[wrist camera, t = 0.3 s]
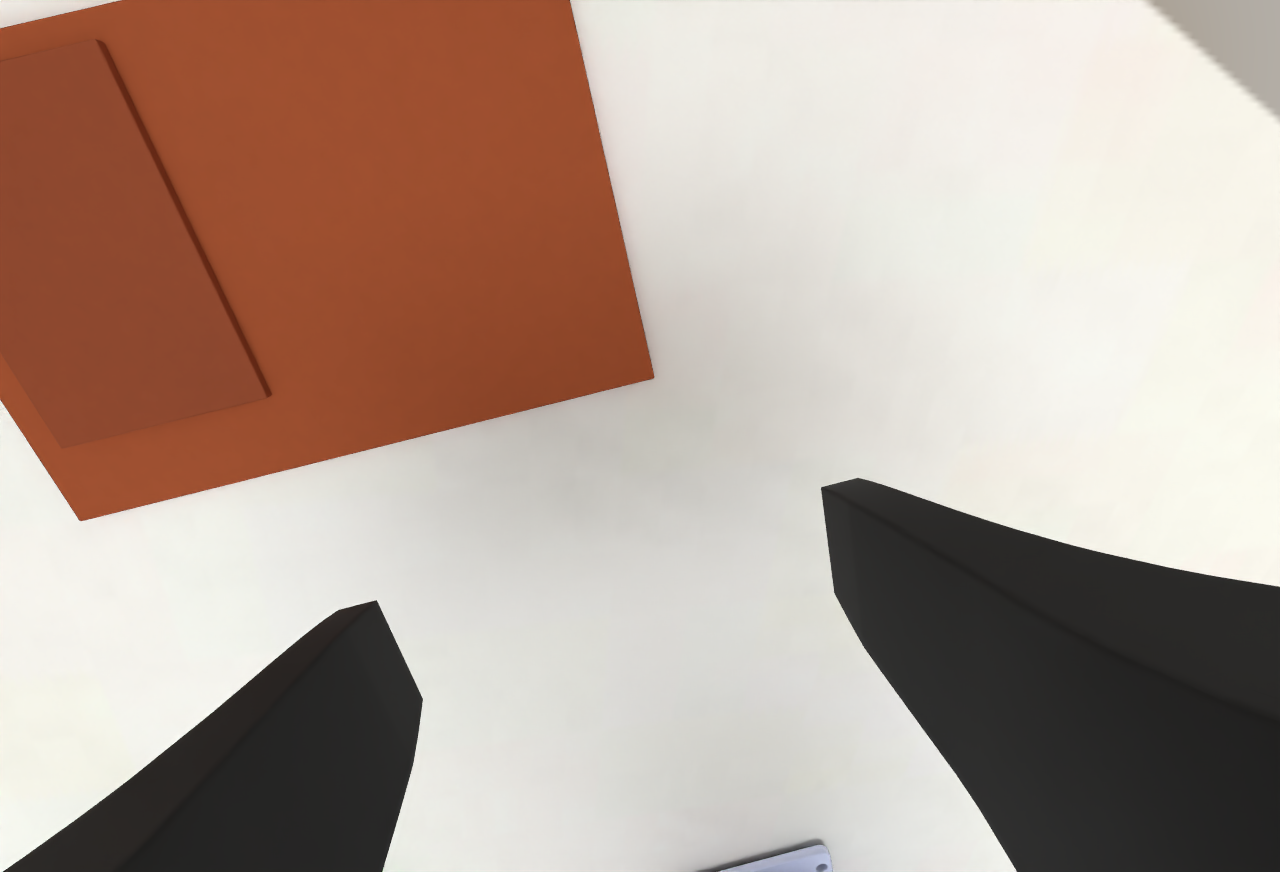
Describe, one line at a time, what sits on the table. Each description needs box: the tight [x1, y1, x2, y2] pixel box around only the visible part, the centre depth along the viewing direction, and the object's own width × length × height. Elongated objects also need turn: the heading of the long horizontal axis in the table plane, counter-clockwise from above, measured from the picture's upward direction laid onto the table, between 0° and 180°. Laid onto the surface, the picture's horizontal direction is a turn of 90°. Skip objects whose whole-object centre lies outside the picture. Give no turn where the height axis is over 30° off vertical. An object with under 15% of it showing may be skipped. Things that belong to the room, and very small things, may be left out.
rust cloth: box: [0, 0, 654, 521], centre depth 16 cm, size 12×18×1 cm, turn 103°
